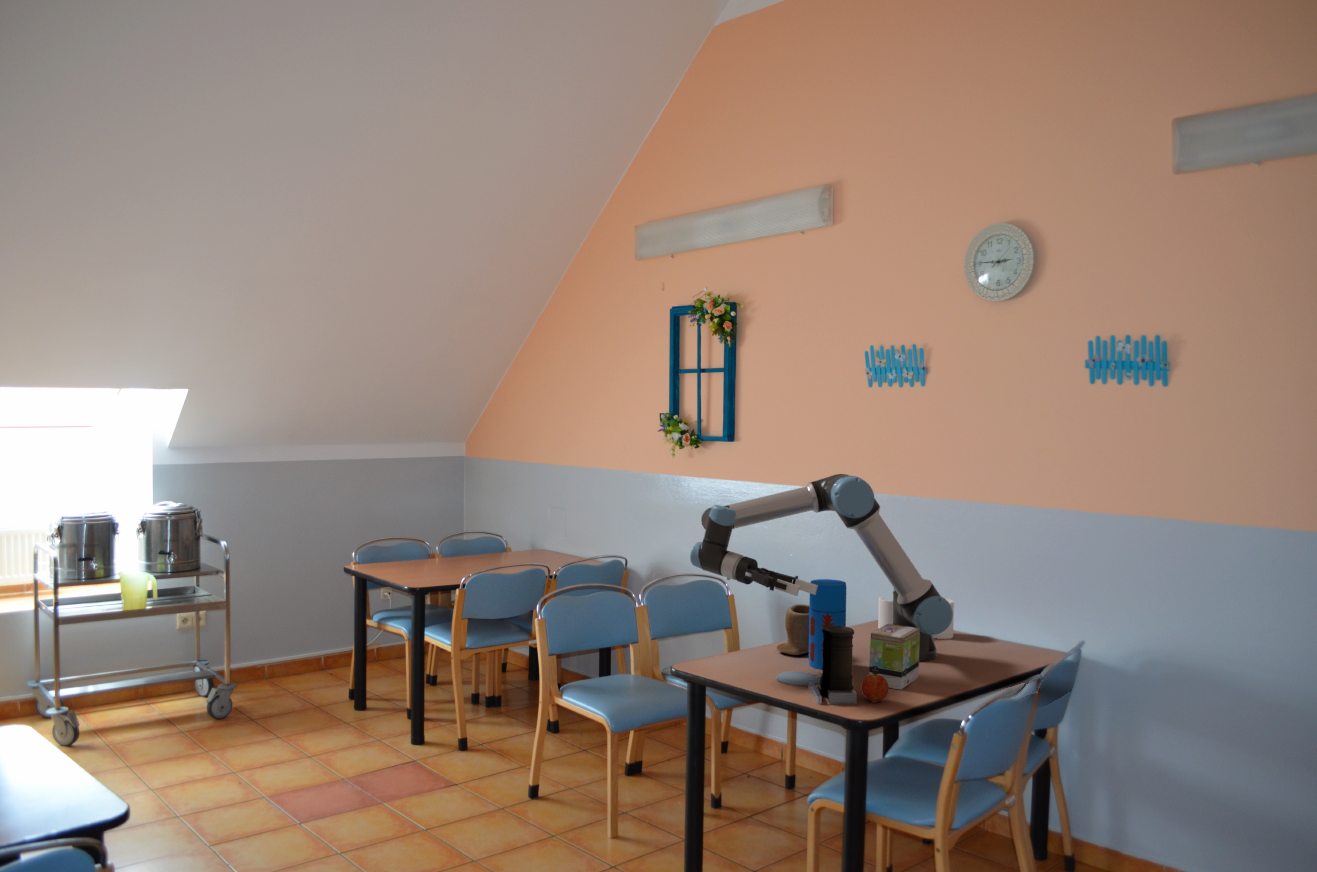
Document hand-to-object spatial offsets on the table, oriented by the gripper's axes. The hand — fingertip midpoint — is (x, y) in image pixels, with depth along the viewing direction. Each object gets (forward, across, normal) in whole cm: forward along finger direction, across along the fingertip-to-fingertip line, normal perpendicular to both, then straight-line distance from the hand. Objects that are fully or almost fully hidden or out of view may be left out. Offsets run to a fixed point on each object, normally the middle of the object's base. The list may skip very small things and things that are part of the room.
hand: (807, 590), depth 262 cm
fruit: (+26, 0, -22) cm, 34 cm away
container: (+16, +1, -24) cm, 29 cm away
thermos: (+2, -26, -23) cm, 35 cm away
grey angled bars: (+14, +2, -24) cm, 28 cm away
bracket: (+12, -80, -14) cm, 82 cm away
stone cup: (-10, -36, -24) cm, 45 cm away
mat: (+1, -8, -26) cm, 27 cm away
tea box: (+24, -21, -20) cm, 37 cm away
